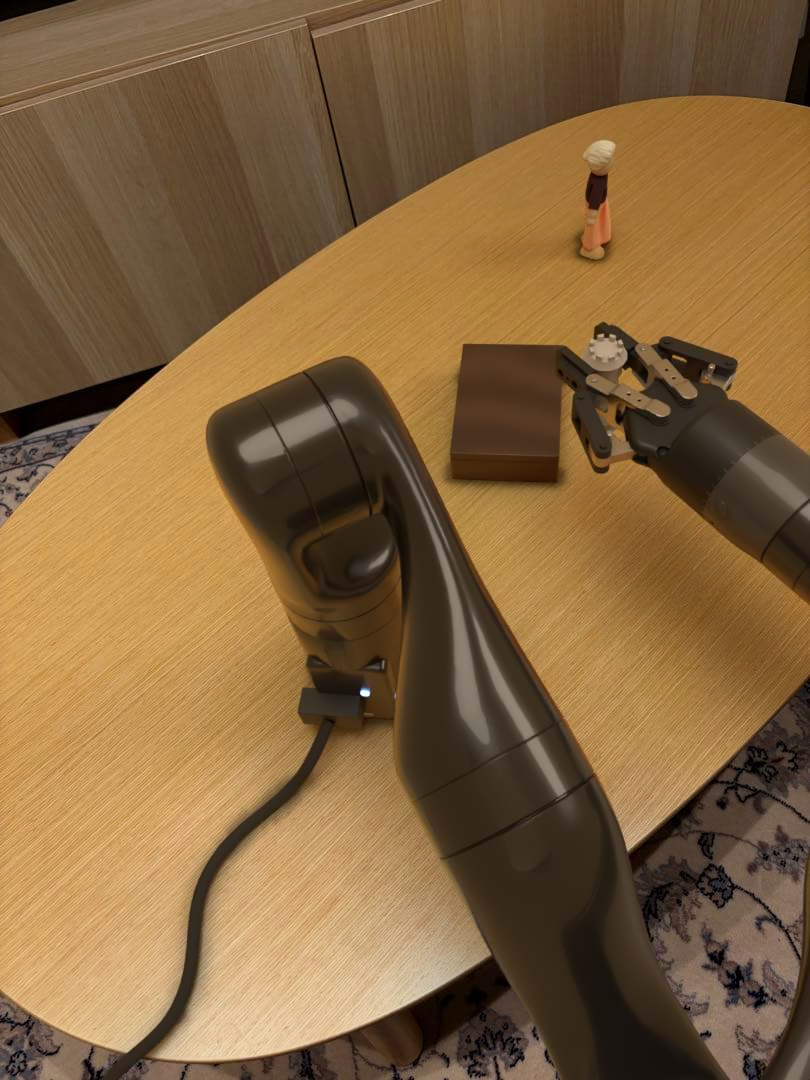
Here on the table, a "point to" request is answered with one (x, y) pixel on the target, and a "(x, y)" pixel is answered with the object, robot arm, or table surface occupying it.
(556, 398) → the walnut box
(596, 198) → the grandmother figurine
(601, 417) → the rook chess piece
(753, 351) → the table surface
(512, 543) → the table surface
